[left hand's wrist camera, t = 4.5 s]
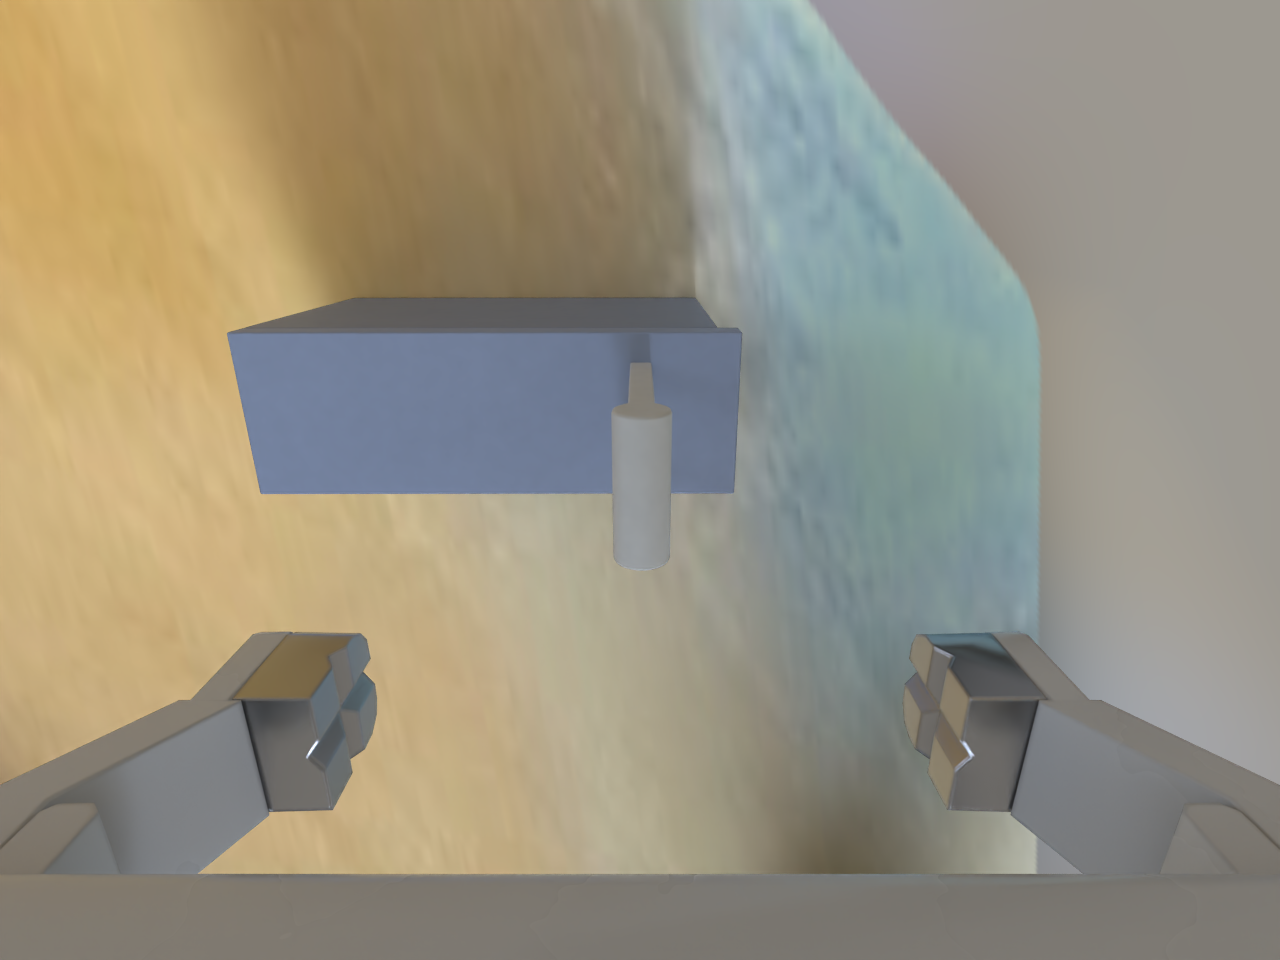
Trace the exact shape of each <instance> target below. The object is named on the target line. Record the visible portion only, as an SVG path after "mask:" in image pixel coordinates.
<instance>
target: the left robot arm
mask: <svg viewBox="0 0 1280 960" xmlns="http://www.w3.org/2000/svg"><path fill="white" fill-rule="evenodd" d="M370 659H371V658H370V653H369V648H368V643H367V639H366V638H365V637H364V636H363V635H362V634H361V633H317V632H294V633H293V632H260V633H256V634H253V635H252V636H251V637H250V638H249V639H248V640H247V641H246V642H245V643H244V644H243V645H242V646H241V647H240V648H239V650H238V651H237V652H236V653H235V654H234V655H233V656H232V657H231V658H230V659H229V660H228V661H227V662H226V663H225V664H224V665H223V666H222V667H221V668H220V670H219V671H218V672H217V673H216V674H215V675H214V676H213V677H212V678H211V679H210V680H209V681H208V682H207V683H206V684H205V685H204V686H203V687H202V689H201V690H200V691H199V692H198V693H197V694H196V695H195V696H194V697H193V698H192V699H191V700H178V701H176V702H174V703H172V704H170V705H168V706H166V707H164V708H162V709H159V710H157V711H155V712H153V713H151V714H149V715H147V716H145V717H143V718H140V719H138V720H136V721H134V722H132V723H130V724H128V725H126V726H124V727H121V728H119V729H117V730H115V731H113V732H111V733H109V734H107V735H105V736H102V737H100V738H98V739H96V740H94V741H92V742H90V743H88V744H86V745H83V746H81V747H79V748H77V749H75V750H73V751H71V752H69V753H67V754H64V755H62V756H60V757H58V758H56V759H54V760H52V761H50V762H48V763H45V764H43V765H41V766H39V767H37V768H35V769H33V770H31V771H29V772H26V773H24V774H22V775H20V776H18V777H16V778H14V779H12V780H10V781H7V782H5V783H3V784H1V785H0V960H1280V785H1278V784H1276V783H1274V782H1272V781H1270V780H1268V779H1266V778H1264V777H1261V776H1259V775H1257V774H1255V773H1253V772H1251V771H1249V770H1247V769H1245V768H1243V767H1240V766H1238V765H1236V764H1234V763H1232V762H1230V761H1228V760H1226V759H1224V758H1222V757H1219V756H1217V755H1215V754H1213V753H1211V752H1209V751H1207V750H1205V749H1203V748H1200V747H1198V746H1196V745H1194V744H1192V743H1190V742H1188V741H1186V740H1184V739H1182V738H1179V737H1177V736H1175V735H1173V734H1171V733H1169V732H1167V731H1165V730H1163V729H1160V728H1158V727H1156V726H1154V725H1152V724H1150V723H1148V722H1146V721H1144V720H1141V719H1139V718H1137V717H1135V716H1133V715H1131V714H1129V713H1127V712H1125V711H1123V710H1120V709H1118V708H1116V707H1114V706H1112V705H1110V704H1108V703H1106V702H1104V701H1102V700H1089V699H1088V698H1087V697H1086V696H1085V695H1084V694H1083V693H1082V692H1081V691H1080V690H1079V688H1078V687H1077V686H1076V685H1075V684H1074V683H1073V682H1072V681H1071V680H1070V679H1069V678H1068V677H1067V676H1066V675H1065V674H1064V673H1063V672H1062V671H1061V669H1060V668H1059V667H1058V666H1057V665H1056V664H1055V663H1054V662H1053V661H1052V660H1051V659H1050V658H1049V657H1048V656H1047V655H1046V654H1045V653H1044V652H1043V650H1042V649H1041V648H1040V647H1039V646H1038V645H1037V644H1036V643H1035V642H1034V641H1033V640H1032V639H1031V638H1030V637H1029V636H1028V635H1026V634H1024V633H1022V632H1019V631H1015V632H988V633H962V634H916V637H915V639H914V641H913V643H912V646H911V652H910V657H909V659H910V661H911V662H912V664H913V665H914V667H915V669H916V670H917V672H916V673H915V674H914V675H913V676H912V677H911V678H910V679H909V681H908V682H907V683H906V684H905V689H904V697H903V711H904V722H905V725H906V729H907V732H908V735H909V738H910V740H911V742H912V744H913V746H914V748H915V749H916V750H917V751H919V752H920V753H922V754H923V755H924V756H926V757H927V758H929V759H930V761H929V767H928V775H929V777H930V778H931V780H932V782H933V784H934V786H935V788H936V790H937V792H938V793H939V795H940V797H941V799H942V801H943V803H944V805H945V807H946V809H947V810H963V811H999V812H1011V816H1013V817H1014V818H1015V819H1016V820H1018V821H1019V822H1020V823H1021V824H1023V825H1024V826H1025V827H1026V828H1027V829H1029V830H1030V831H1031V832H1032V833H1034V834H1035V835H1036V836H1037V837H1038V838H1040V839H1041V840H1042V841H1043V842H1045V843H1046V844H1047V845H1048V846H1050V847H1051V848H1052V849H1053V850H1054V851H1056V852H1057V853H1058V854H1059V855H1061V856H1062V857H1063V858H1064V859H1065V860H1067V861H1068V862H1069V863H1070V864H1072V865H1073V866H1074V867H1075V868H1076V869H1078V870H1079V871H1080V872H1081V873H1083V874H198V873H199V872H200V871H201V870H203V869H204V868H205V867H206V866H207V865H209V864H210V863H211V862H212V861H214V860H215V859H216V858H217V857H218V856H220V855H221V854H222V853H223V852H225V851H226V850H227V849H228V848H230V847H231V846H232V845H233V844H234V843H236V842H237V841H238V840H239V839H241V838H242V837H243V836H244V835H245V834H247V833H248V832H249V831H250V830H252V829H253V828H254V827H255V826H257V825H258V824H259V823H260V822H261V821H263V820H264V819H265V818H266V817H268V816H269V812H280V811H315V810H333V809H334V807H335V805H336V803H337V801H338V799H339V797H340V795H341V794H342V792H343V790H344V788H345V786H346V784H347V782H348V780H349V778H350V777H351V775H352V767H351V761H350V759H351V758H353V757H354V756H356V755H357V754H358V753H360V752H361V751H363V750H364V749H365V748H366V746H367V744H368V742H369V740H370V738H371V735H372V733H373V728H374V724H375V720H376V715H377V695H376V688H375V684H374V683H373V682H372V681H371V679H370V678H369V677H368V676H367V675H366V674H365V673H364V672H363V670H364V669H365V667H366V665H367V664H368V662H369V661H370Z"/></svg>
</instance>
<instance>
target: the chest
mask: <svg viewBox="0 0 1280 960" xmlns="http://www.w3.org/2000/svg"><path fill="white" fill-rule="evenodd" d="M246 328H717V326H716V325H715V324H714V322H713V321H712V320H711V318H710V317H709V316H708V314H707V313H706V312H705V310H704V309H703V307H702V306H701V305H700V303H699V302H698V301H697V299H696V298H353V299H348V300H345V301H341V302H337V303H334V304H330V305H326V306H323V307H319V308H315V309H312V310H308V311H304V312H301V313H297V314H293V315H290V316H286V317H282V318H279V319H275V320H271V321H268V322H264V323H260V324H257V325H253V326H249V327H246Z"/></svg>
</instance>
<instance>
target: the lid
mask: <svg viewBox="0 0 1280 960" xmlns="http://www.w3.org/2000/svg"><path fill="white" fill-rule="evenodd" d="M227 336H228V340H229V345H230V350H231V355H232V359H233V364H234V369H235V374H236V378H237V383H238V388H239V393H240V397H241V402H242V407H243V412H244V416H245V421H246V426H247V431H248V435H249V440H250V445H251V450H252V454H253V459H254V464H255V469H256V473H257V478H258V483H259V488H260V492H261V494H576V493H613V553H614V559H615V561H616V562H617V563H618V564H619V565H620V566H622V567H624V568H628V569H632V570H651V569H656V568H659V567H661V566H663V565H665V564H666V563H667V562H668V560H669V557H670V514H671V493H734V481H735V462H736V442H737V423H738V404H739V384H740V365H741V345H742V332H741V331H740V330H739V329H738V328H242V329H239V330H235V331H231V332H228V333H227Z"/></svg>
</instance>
